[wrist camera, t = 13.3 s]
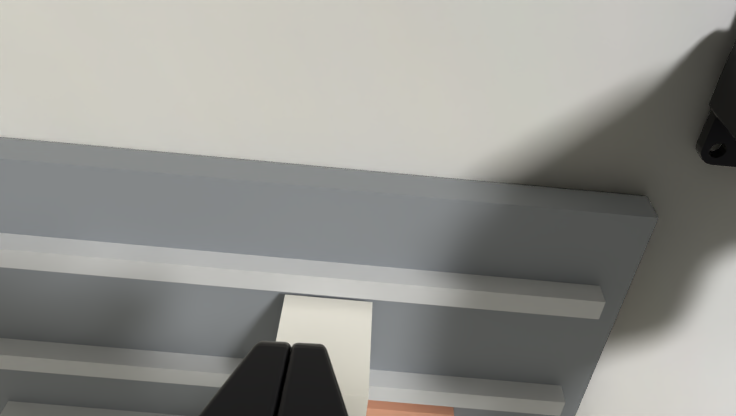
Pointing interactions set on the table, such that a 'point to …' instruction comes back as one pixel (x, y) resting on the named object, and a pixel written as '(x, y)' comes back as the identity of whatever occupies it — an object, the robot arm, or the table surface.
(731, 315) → the table surface
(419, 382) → the grey slider track board
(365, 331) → the cream slider
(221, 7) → the table surface
